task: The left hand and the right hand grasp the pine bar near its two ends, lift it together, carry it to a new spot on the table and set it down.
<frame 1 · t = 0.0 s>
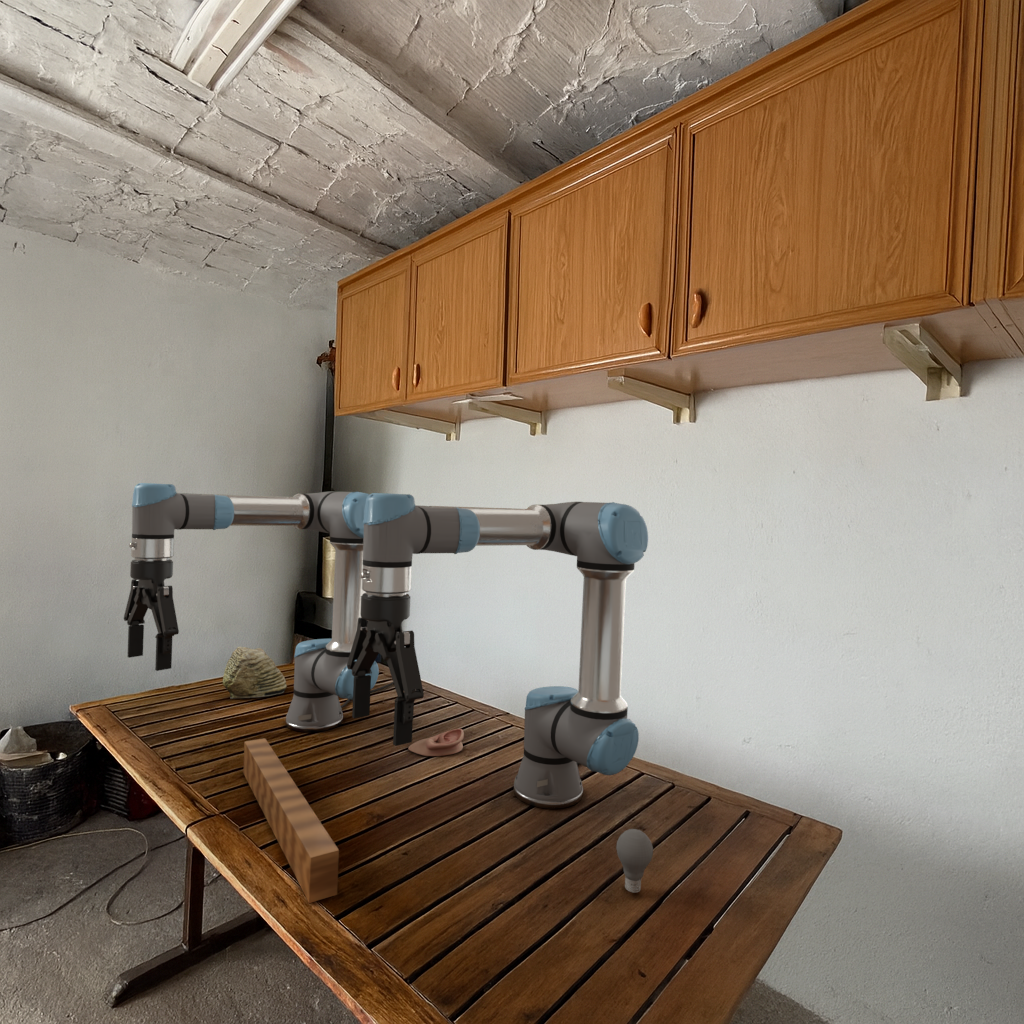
left hand: (148, 662, 129), 28 cm above the table, tool pointing down, fingers open, 13 cm apart
right hand: (380, 729, 98), 28 cm above the table, tool pointing down, fingers open, 13 cm apart
bar: (282, 823, 122), on the table
fossil: (254, 694, 198), on the table
light bulb: (632, 891, 106), on the table
anatomical model: (436, 748, 162), on the table
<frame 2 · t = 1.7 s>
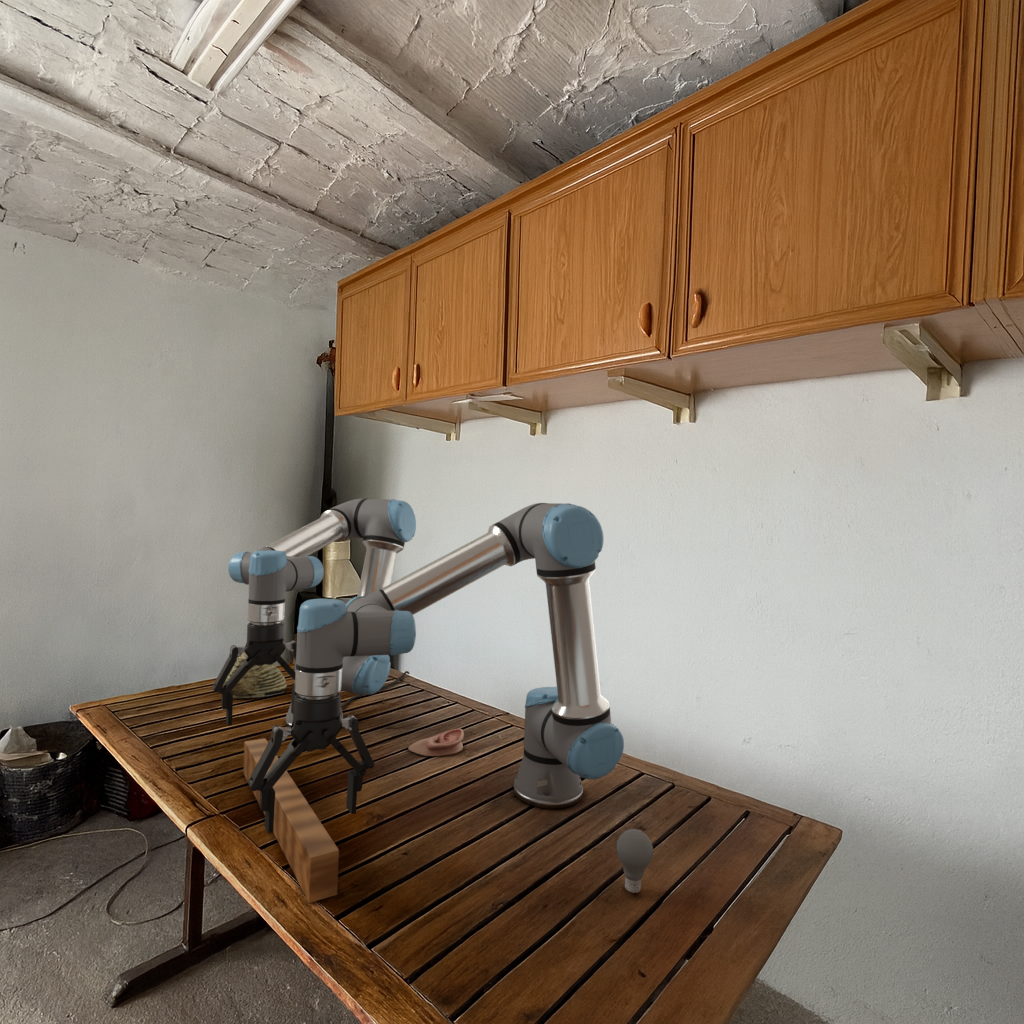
left hand: (262, 718, 138), 14 cm above the table, tool pointing down, fingers open, 13 cm apart
right hand: (311, 819, 106), 10 cm above the table, tool pointing down, fingers open, 13 cm apart
nothing on the table moved.
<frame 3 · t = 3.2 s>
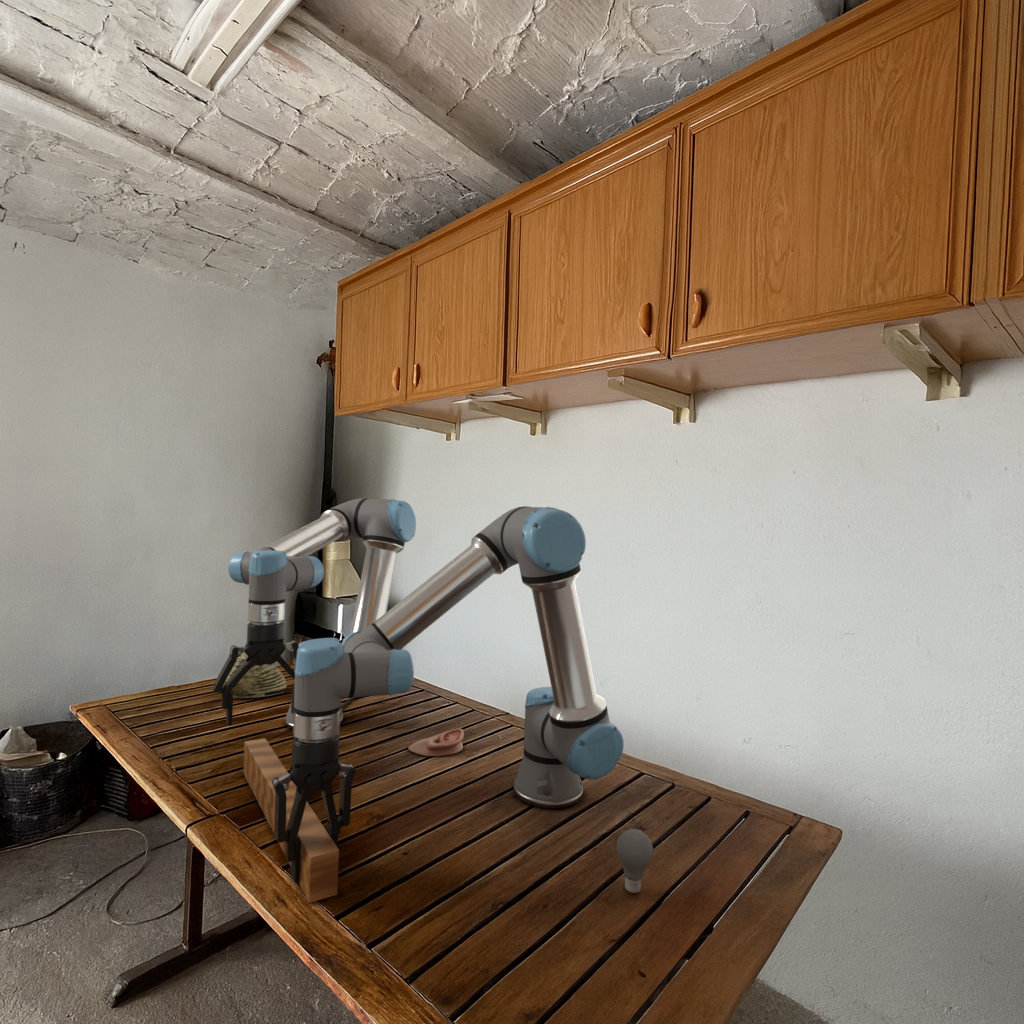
left hand: (262, 718, 138), 14 cm above the table, tool pointing down, fingers open, 13 cm apart
right hand: (311, 873, 106), 1 cm above the table, tool pointing down, fingers closed on bar, 4 cm apart
bar: (282, 823, 122), on the table, touching right hand
everything else where it was.
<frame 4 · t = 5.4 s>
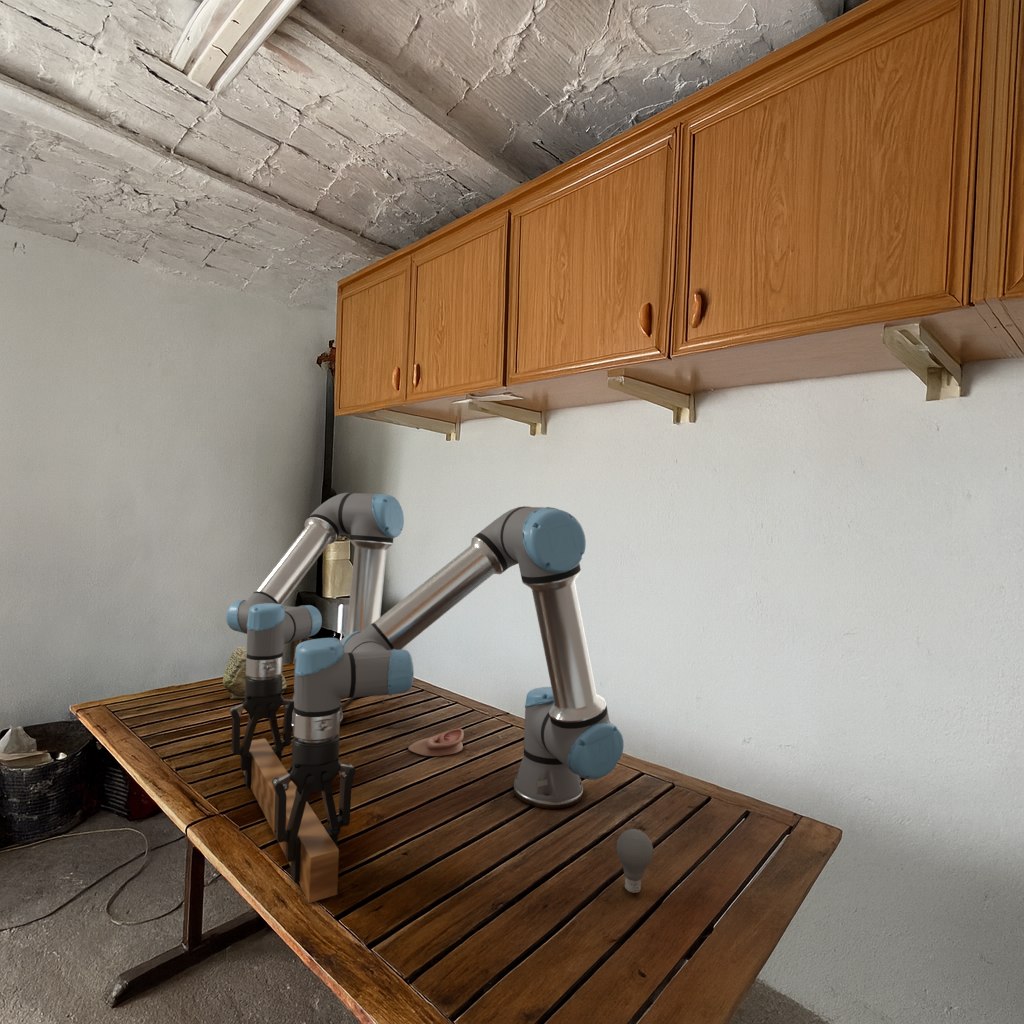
left hand: (260, 781, 139), 0 cm above the table, tool pointing down, fingers closed on bar, 4 cm apart
right hand: (310, 873, 106), 1 cm above the table, tool pointing down, fingers closed on bar, 4 cm apart
bar: (282, 823, 122), on the table, touching left hand, right hand
everything else where it was.
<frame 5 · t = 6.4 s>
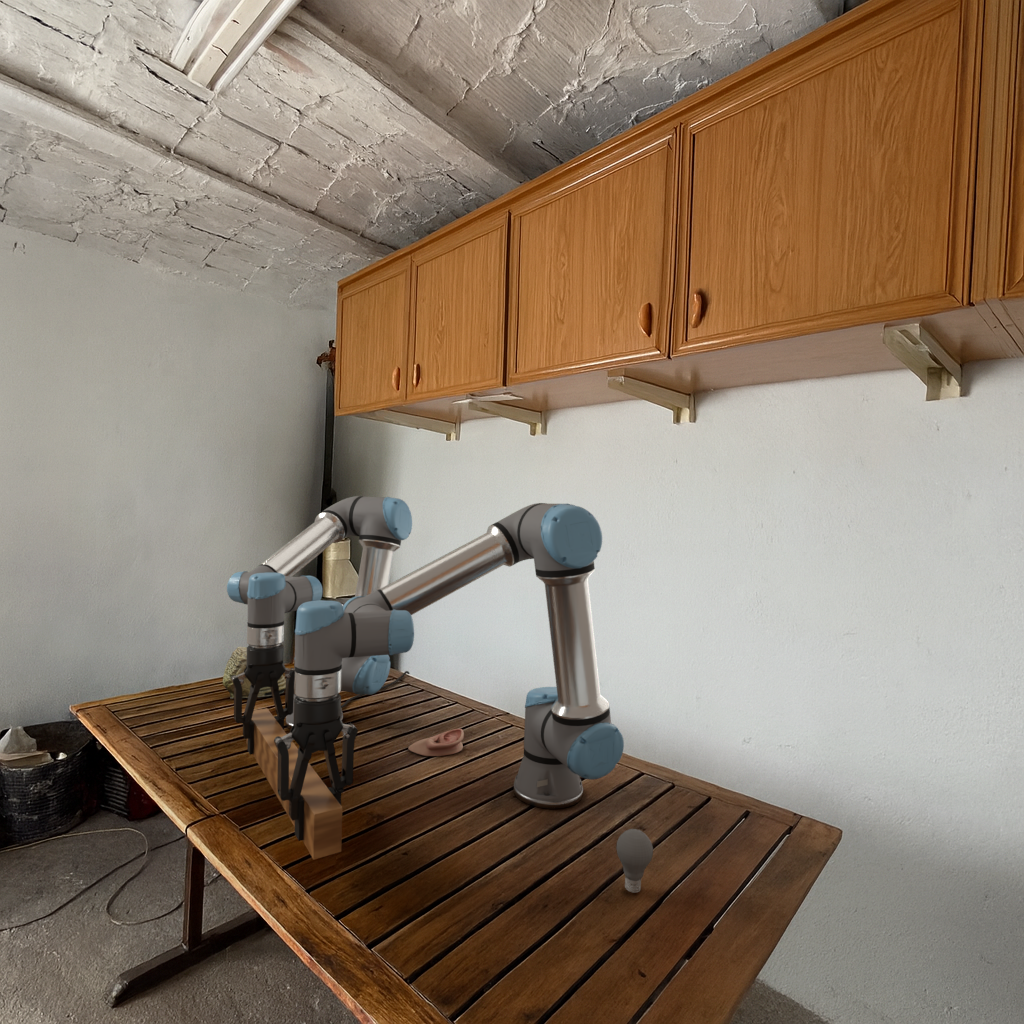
left hand: (263, 749, 139), 7 cm above the table, tool pointing down, fingers closed on bar, 4 cm apart
right hand: (314, 832, 106), 7 cm above the table, tool pointing down, fingers closed on bar, 4 cm apart
bar: (285, 788, 123), point 7 cm above the table, touching left hand, right hand
everything else where it was.
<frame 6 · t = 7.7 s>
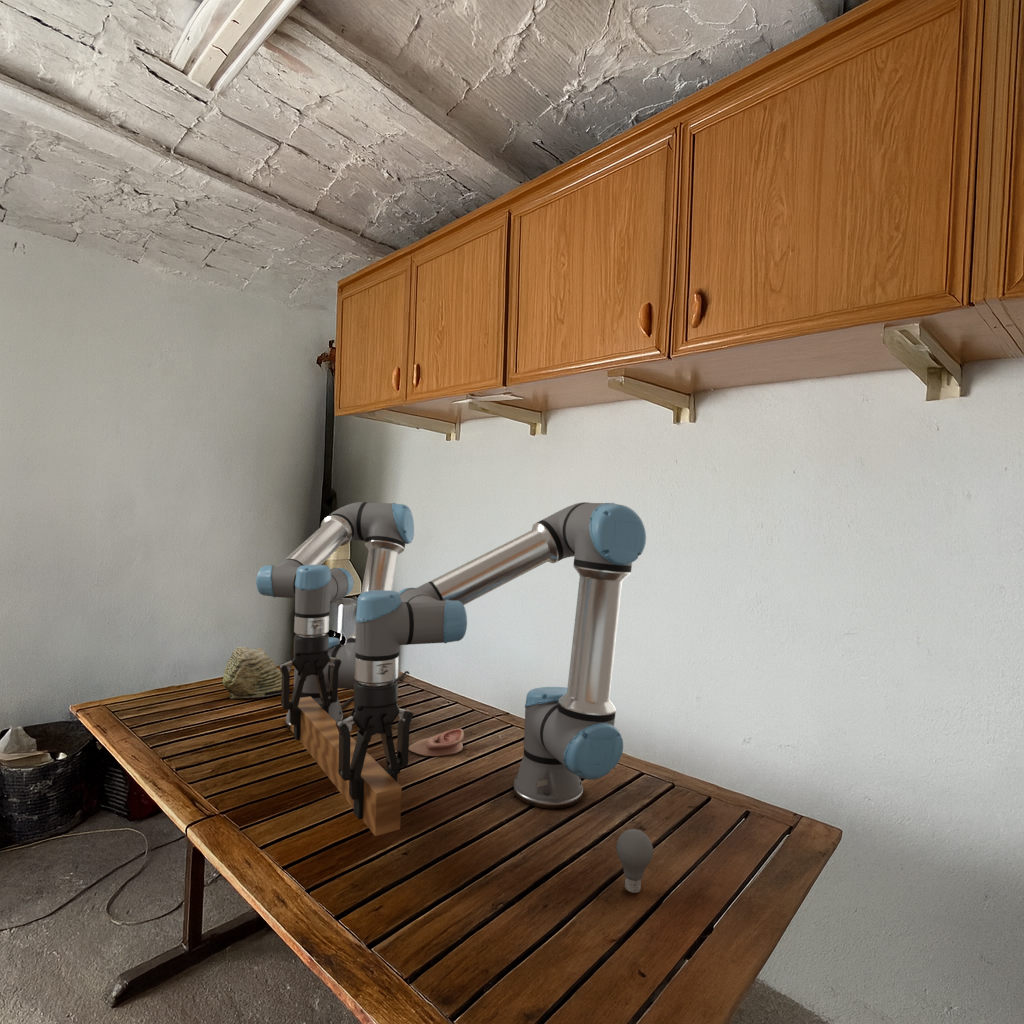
left hand: (308, 735, 144), 9 cm above the table, tool pointing down, fingers closed on bar, 5 cm apart
right hand: (372, 811, 111), 9 cm above the table, tool pointing down, fingers closed on bar, 4 cm apart
bar: (336, 771, 127), point 8 cm above the table, touching left hand, right hand
everything else where it was.
when the left hand's fingers open (2 cm above the table, at t = 10.0 s): bar drops 2 cm, on the table.
when the right hand's fingers open (2 cm above the table, at t = 10.0 s): bar drops 2 cm, on the table.
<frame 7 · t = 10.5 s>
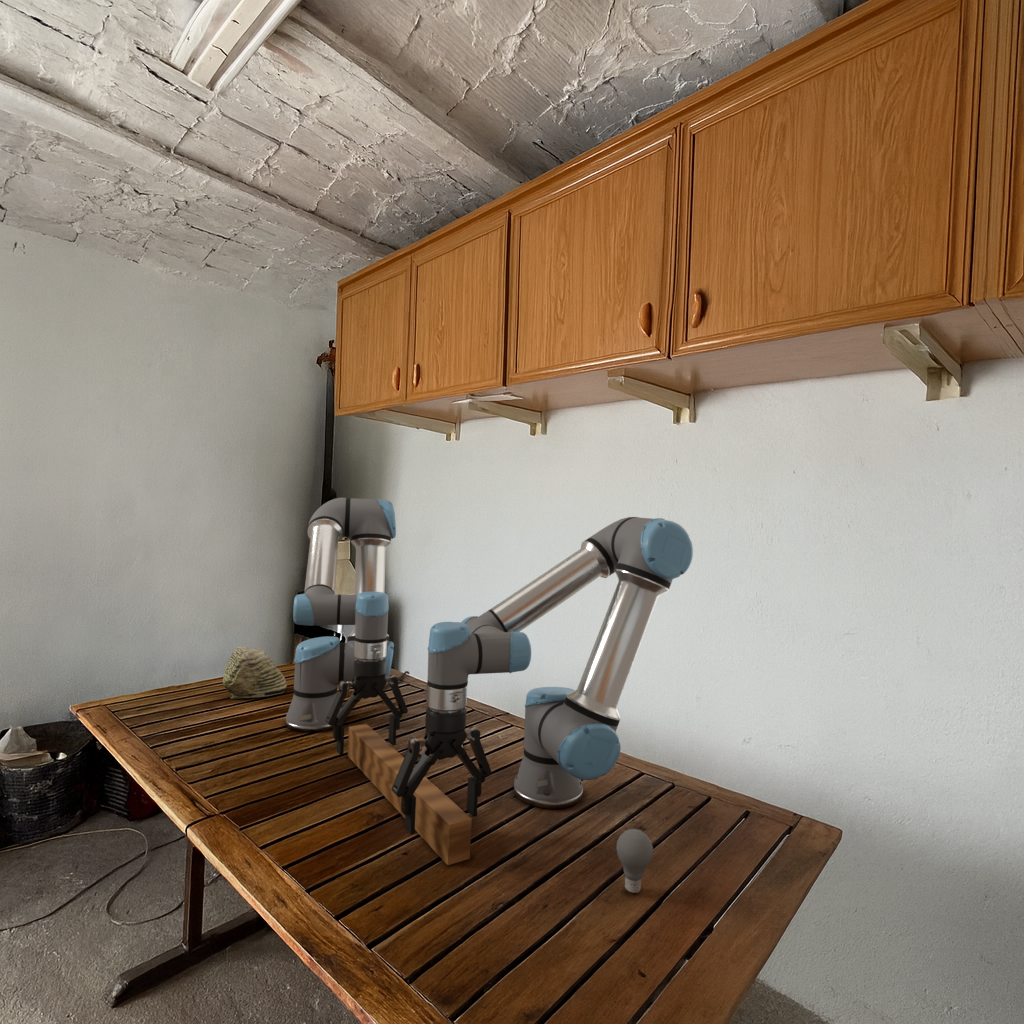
left hand: (366, 748, 150), 4 cm above the table, tool pointing down, fingers open, 12 cm apart
right hand: (441, 822, 118), 4 cm above the table, tool pointing down, fingers open, 12 cm apart
bar: (399, 799, 134), on the table
everything else where it was.
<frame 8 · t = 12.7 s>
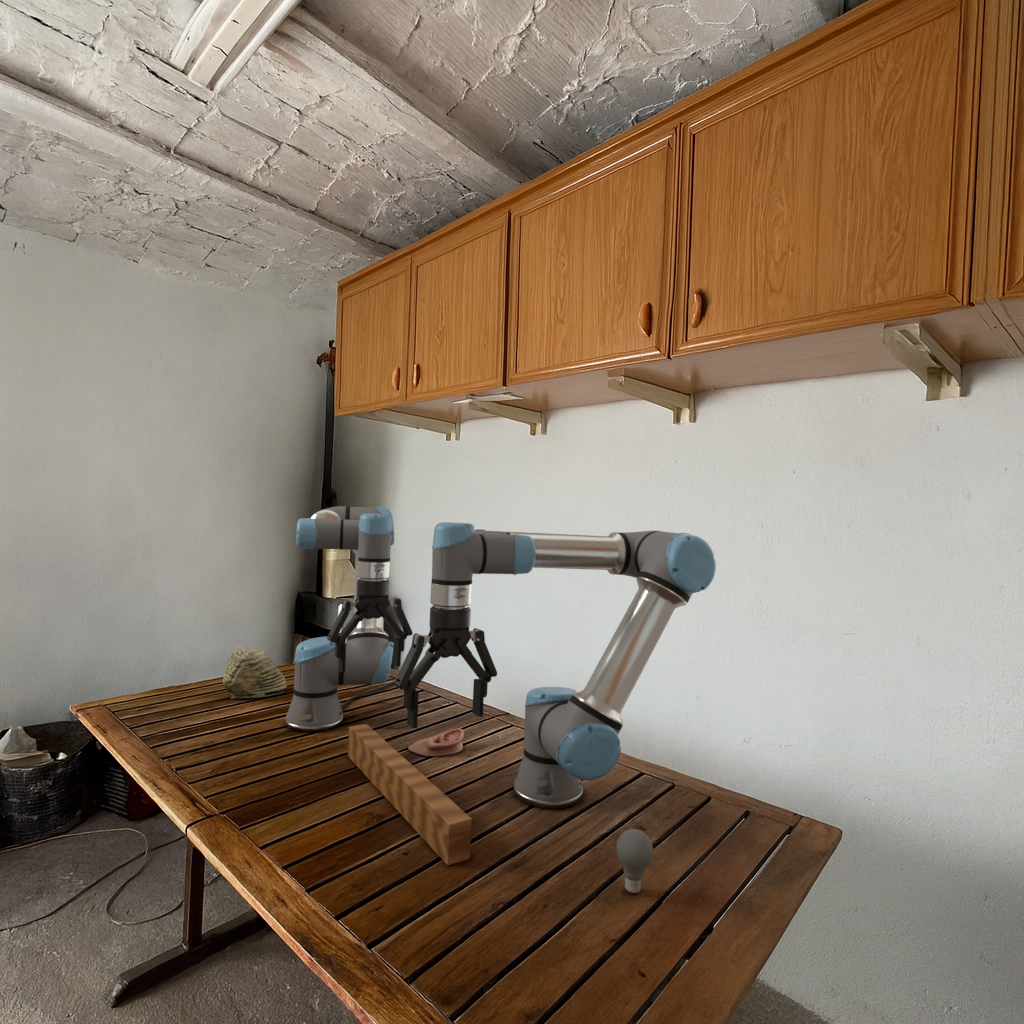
left hand: (369, 668, 150), 23 cm above the table, tool pointing down, fingers open, 13 cm apart
right hand: (445, 720, 117), 23 cm above the table, tool pointing down, fingers open, 13 cm apart
nothing on the table moved.
at the end: bar inside the target area (0.1 cm from its centre), on the table; bar tilted 0°; bar never tilted more than 2° during the clip; both hands held the bar at the same time; the left hand is holding nothing; the right hand is holding nothing; bar at rest at the end (0.0 cm/s) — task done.
